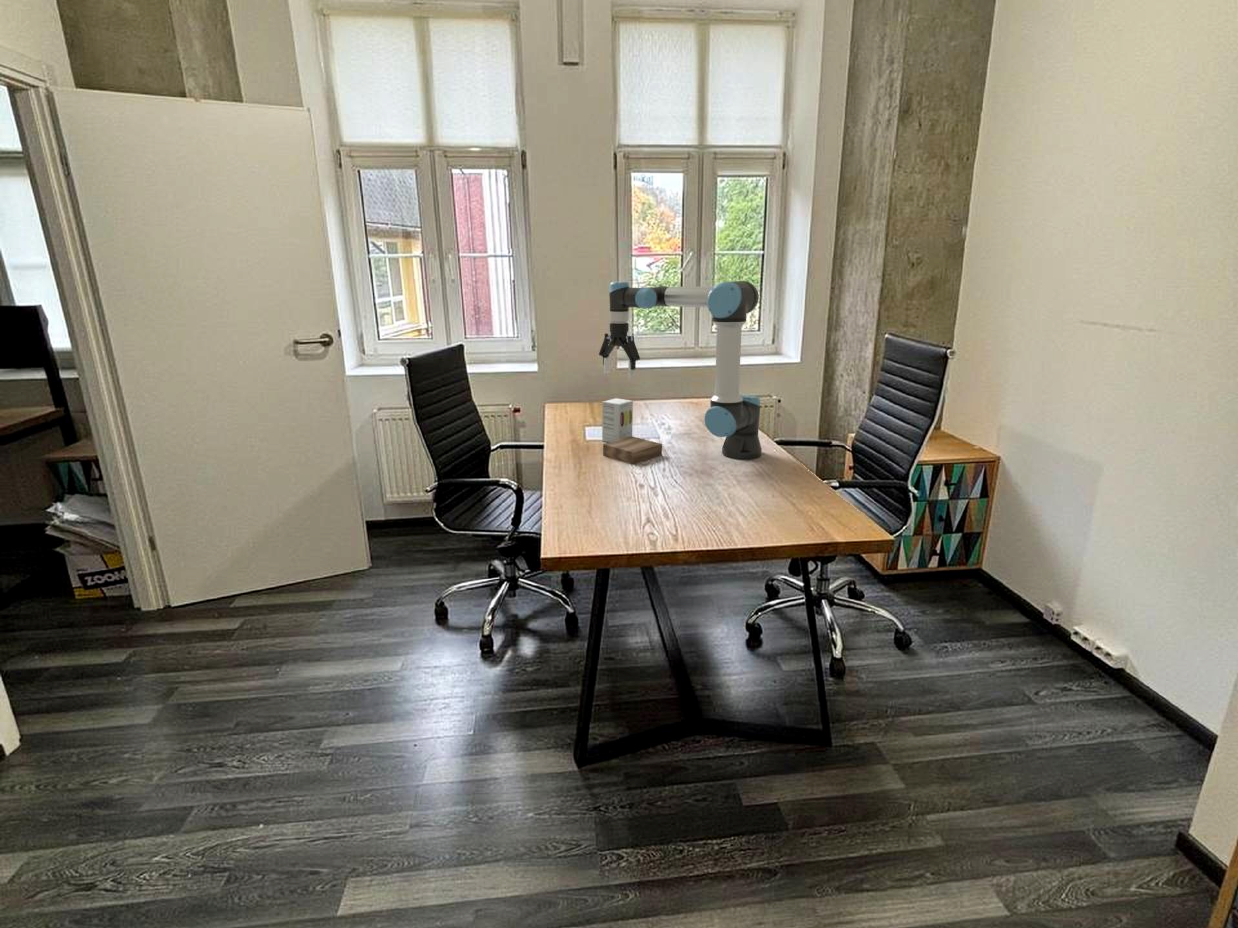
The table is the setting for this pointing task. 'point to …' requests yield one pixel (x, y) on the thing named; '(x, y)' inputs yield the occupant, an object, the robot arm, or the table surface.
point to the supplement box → (616, 419)
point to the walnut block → (632, 450)
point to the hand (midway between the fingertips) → (618, 375)
